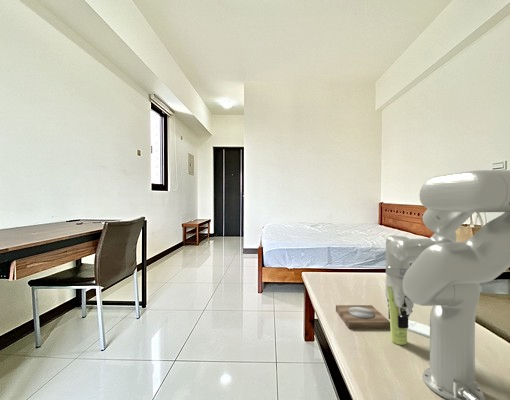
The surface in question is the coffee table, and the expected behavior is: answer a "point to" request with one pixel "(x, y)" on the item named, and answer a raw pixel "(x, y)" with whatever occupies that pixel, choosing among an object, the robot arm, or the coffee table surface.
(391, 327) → the tube
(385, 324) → the walnut base
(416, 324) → the external hard drive
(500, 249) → the robot arm
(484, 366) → the coffee table surface
